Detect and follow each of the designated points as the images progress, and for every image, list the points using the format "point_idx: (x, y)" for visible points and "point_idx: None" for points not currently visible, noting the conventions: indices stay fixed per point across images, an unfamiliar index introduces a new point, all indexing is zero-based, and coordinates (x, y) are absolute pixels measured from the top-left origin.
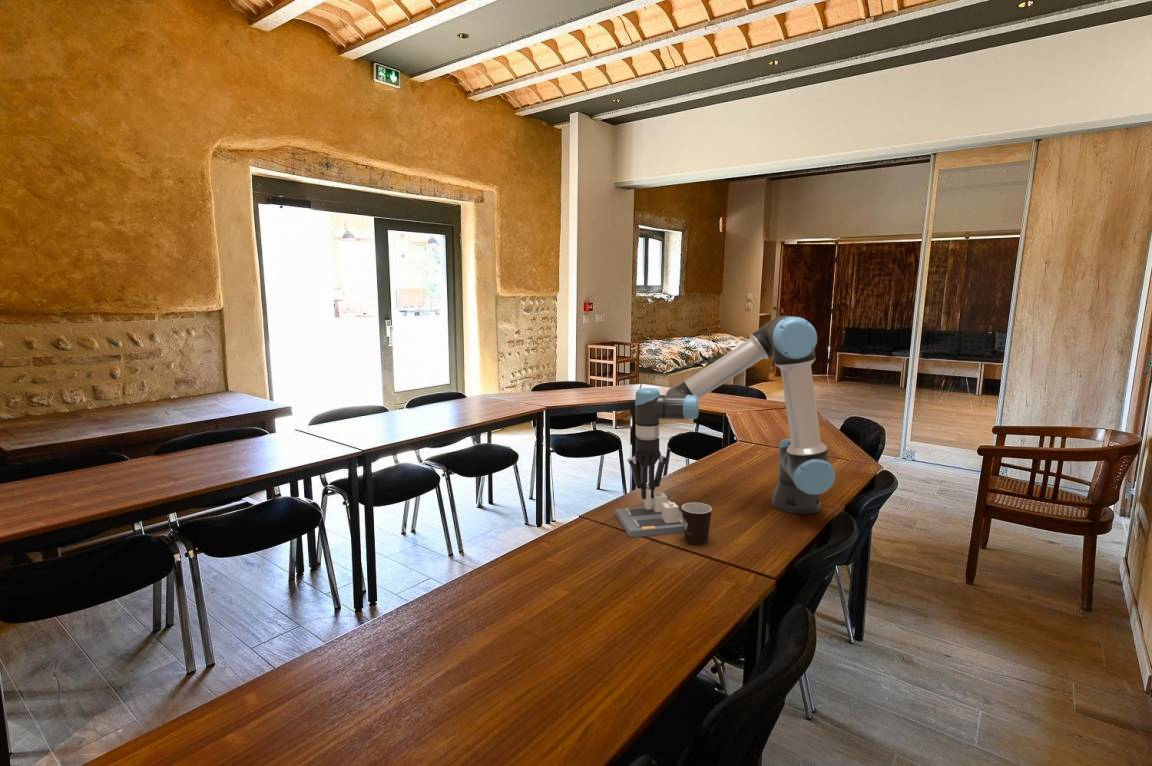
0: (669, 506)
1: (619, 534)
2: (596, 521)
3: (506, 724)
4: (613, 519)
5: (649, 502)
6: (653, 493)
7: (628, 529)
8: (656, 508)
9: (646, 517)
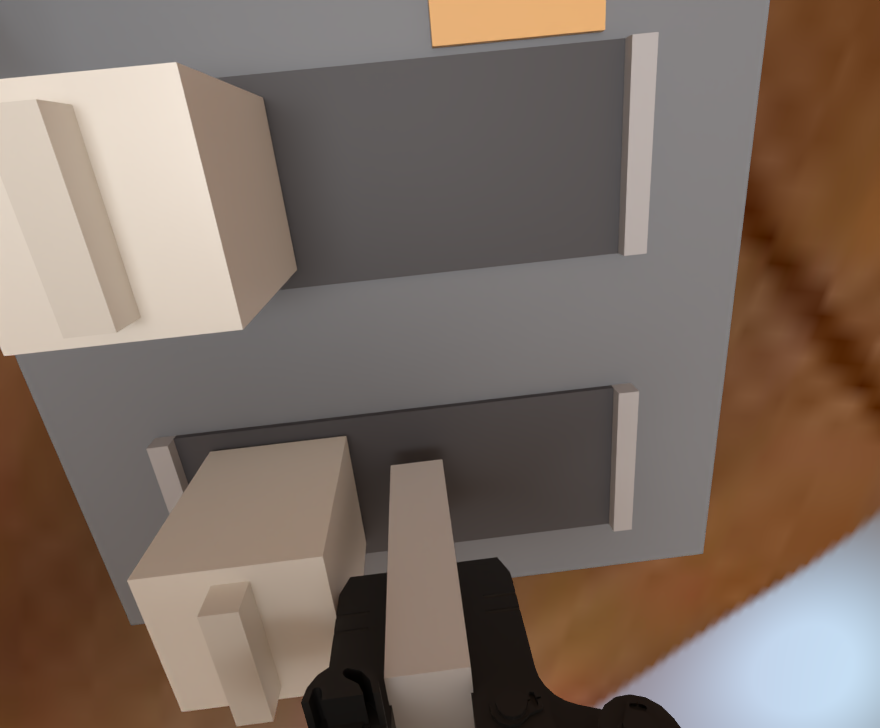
0: (96, 139)
1: (801, 73)
2: (877, 404)
3: None
4: (723, 431)
5: (409, 515)
6: (337, 638)
7: (764, 14)
8: (326, 460)
9: (463, 336)
